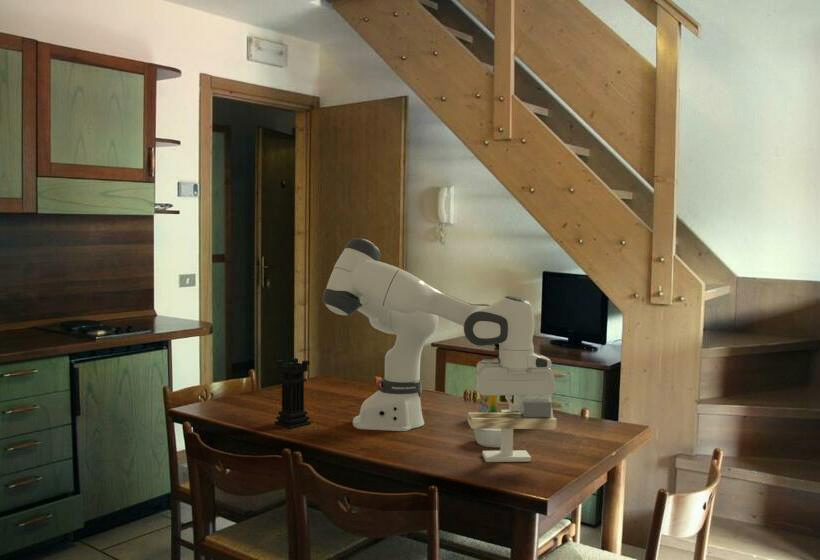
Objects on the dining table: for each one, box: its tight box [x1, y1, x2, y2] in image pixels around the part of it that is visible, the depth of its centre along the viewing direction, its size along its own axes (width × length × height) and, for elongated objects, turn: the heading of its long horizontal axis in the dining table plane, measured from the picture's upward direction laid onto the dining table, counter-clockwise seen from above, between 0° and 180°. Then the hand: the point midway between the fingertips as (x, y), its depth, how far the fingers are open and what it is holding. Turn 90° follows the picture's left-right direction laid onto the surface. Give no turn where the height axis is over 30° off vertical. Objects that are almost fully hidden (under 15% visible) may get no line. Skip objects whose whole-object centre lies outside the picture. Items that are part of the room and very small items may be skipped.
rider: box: [520, 398, 552, 418], centre depth 196 cm, size 7×4×5 cm, turn 94°
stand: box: [482, 409, 532, 463], centre depth 202 cm, size 12×6×13 cm, turn 94°
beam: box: [467, 411, 558, 430], centre depth 196 cm, size 22×7×3 cm, turn 94°
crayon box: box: [479, 394, 498, 413], centre depth 241 cm, size 7×3×12 cm, turn 20°
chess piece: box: [274, 357, 312, 430], centre depth 233 cm, size 8×8×20 cm
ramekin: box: [474, 429, 501, 448], centre depth 216 cm, size 11×11×5 cm
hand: (514, 411), depth 195 cm, fingers closed
